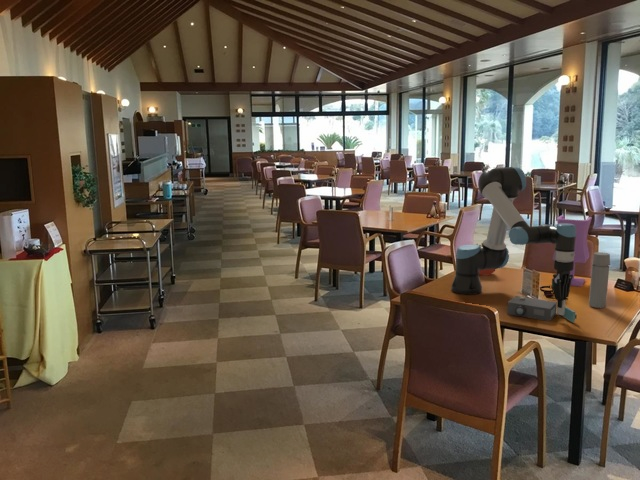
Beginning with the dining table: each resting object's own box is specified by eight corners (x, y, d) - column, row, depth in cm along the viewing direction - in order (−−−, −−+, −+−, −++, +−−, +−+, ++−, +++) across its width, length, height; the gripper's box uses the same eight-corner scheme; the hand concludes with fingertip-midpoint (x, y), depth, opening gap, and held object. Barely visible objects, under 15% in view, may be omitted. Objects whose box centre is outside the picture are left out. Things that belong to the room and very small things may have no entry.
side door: (572, 323, 238) (573, 311, 237) (556, 313, 251) (557, 302, 250) (576, 323, 238) (577, 311, 238) (560, 313, 251) (561, 302, 250)
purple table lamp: (587, 281, 306) (592, 217, 300) (582, 287, 293) (588, 221, 287) (556, 277, 315) (560, 215, 308) (551, 283, 302) (555, 218, 295)
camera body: (505, 315, 250) (506, 301, 249) (515, 307, 261) (515, 294, 260) (548, 322, 240) (549, 308, 238) (556, 314, 251) (557, 300, 250)
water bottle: (605, 309, 256) (610, 256, 252) (586, 307, 260) (591, 254, 256) (607, 304, 264) (612, 252, 259) (589, 302, 268) (593, 250, 263)
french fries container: (495, 275, 321) (496, 244, 318) (476, 275, 321) (477, 244, 318) (493, 273, 325) (494, 242, 322) (474, 273, 326) (475, 242, 322)
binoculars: (538, 274, 282) (559, 273, 280) (539, 294, 284) (560, 293, 282) (541, 278, 274) (563, 277, 272) (542, 299, 275) (564, 298, 273)
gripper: (565, 264, 230) (561, 319, 234) (580, 259, 238) (576, 313, 242) (547, 261, 236) (544, 315, 240) (563, 256, 244) (559, 309, 248)
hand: (560, 314), depth 241 cm, fingers closed
